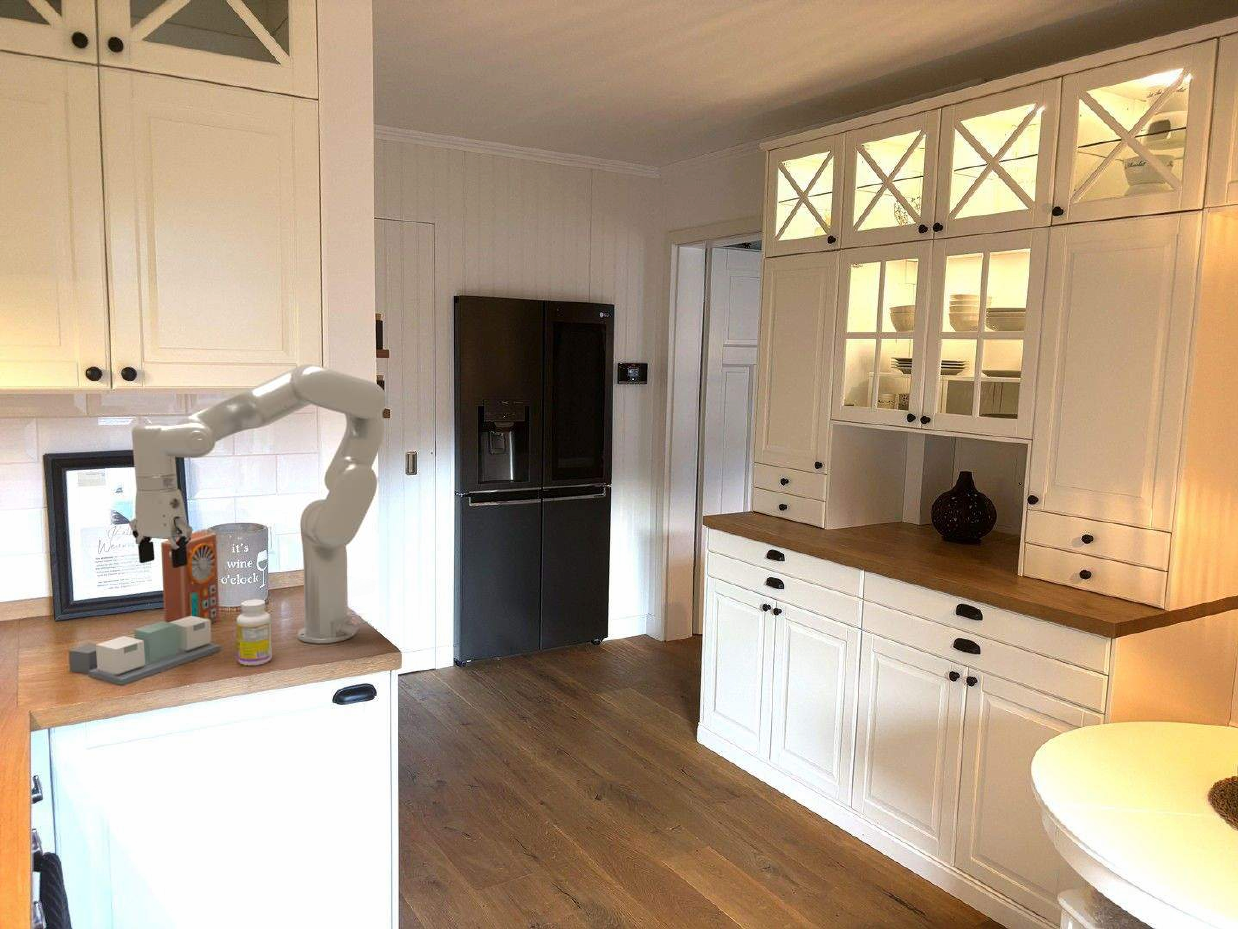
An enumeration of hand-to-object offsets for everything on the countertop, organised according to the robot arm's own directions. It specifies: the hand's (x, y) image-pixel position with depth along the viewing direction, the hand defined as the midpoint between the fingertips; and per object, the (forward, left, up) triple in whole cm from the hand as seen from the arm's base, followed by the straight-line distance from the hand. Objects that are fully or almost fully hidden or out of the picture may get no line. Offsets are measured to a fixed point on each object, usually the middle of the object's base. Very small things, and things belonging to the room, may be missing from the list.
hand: (163, 564), depth 186 cm
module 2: (-1, +3, -19) cm, 19 cm away
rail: (-1, +3, -19) cm, 20 cm away
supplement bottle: (-17, -8, -21) cm, 28 cm away
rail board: (-1, +3, -21) cm, 21 cm away
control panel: (+14, -18, -21) cm, 31 cm away
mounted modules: (-1, +3, -19) cm, 19 cm away
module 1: (+8, +11, -21) cm, 25 cm away
